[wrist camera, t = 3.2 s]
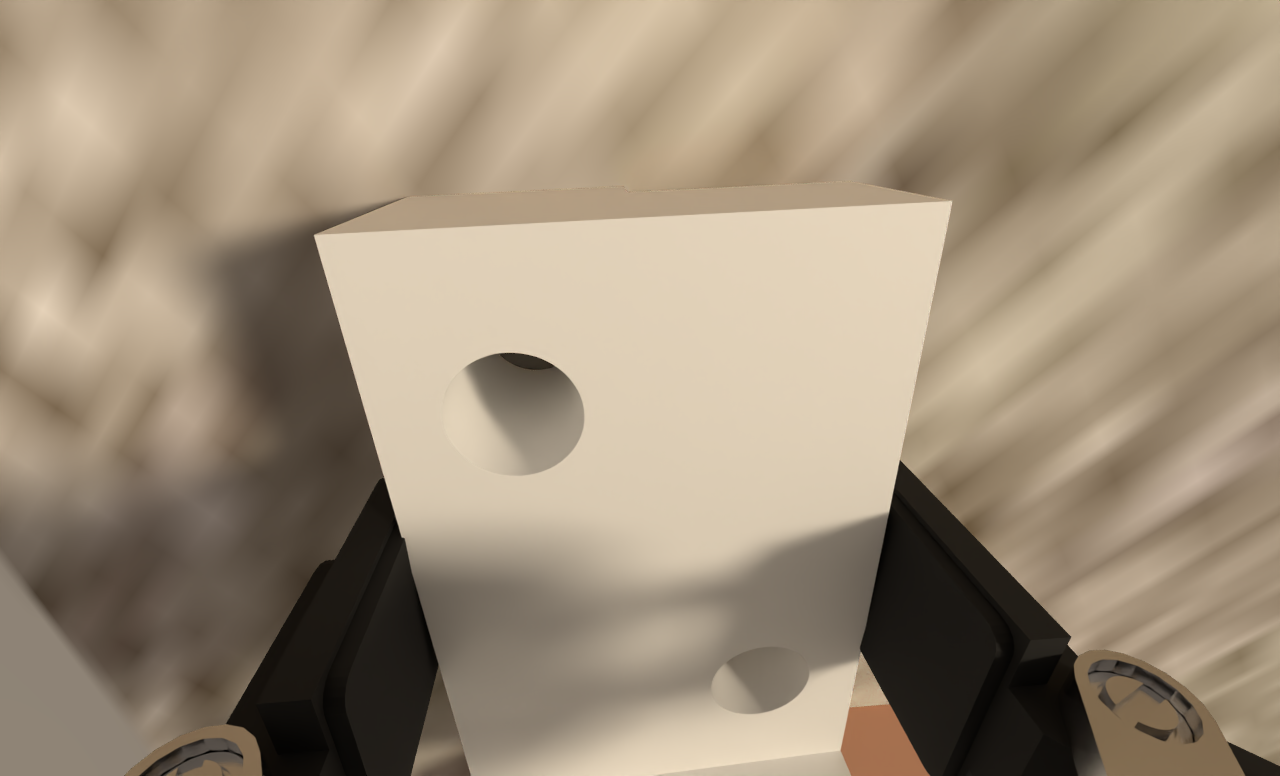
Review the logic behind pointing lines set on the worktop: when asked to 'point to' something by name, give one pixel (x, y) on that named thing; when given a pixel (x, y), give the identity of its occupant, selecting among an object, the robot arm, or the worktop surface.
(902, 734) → the riser block
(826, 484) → the bracket
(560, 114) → the worktop surface
